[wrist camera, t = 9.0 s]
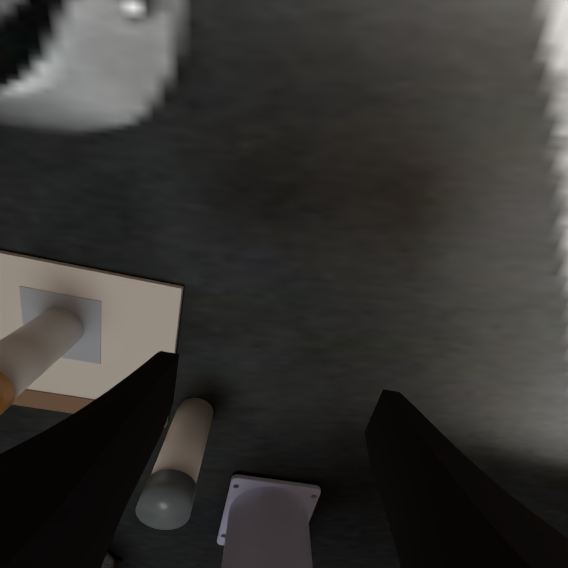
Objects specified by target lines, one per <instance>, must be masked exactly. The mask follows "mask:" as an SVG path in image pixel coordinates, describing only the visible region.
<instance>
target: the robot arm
mask: <svg viewBox="0 0 568 568" xmlns="http://www.w3.org/2000/svg"><path fill="white" fill-rule="evenodd" d="M178 358H179V354H176V353H170V352H164V351H159V352H158V353H156V354H155V355H154V356H153V357H151V358H150V359H149V360H148V361H146V362H145V363H144V364H143V365H141V366H140V367H139V368H138V369H136V370H135V371H134V372H133V373H131V374H130V375H129V376H127V377H126V378H125V379H123V380H122V381H121V382H119V383H118V384H117V385H115V386H114V387H112V388H111V389H110V390H108V391H107V392H105V393H104V394H103V395H101V396H100V397H98V398H97V399H95V400H94V401H92V402H91V403H89V404H88V405H86V406H85V407H83V408H82V409H80V410H79V411H77V412H75V413H74V414H72V415H71V416H69V417H67V418H66V419H64V420H62V421H61V422H59V423H57V424H56V425H54V426H52V427H50V428H49V429H47V430H45V431H43V432H42V433H40V434H38V435H36V436H34V437H32V438H31V439H29V440H27V441H25V442H23V443H21V444H19V445H17V446H15V447H13V448H11V449H9V450H7V451H5V452H3V453H1V454H0V568H101V567H102V564H103V561H104V559H105V556H106V554H107V551H108V549H109V546H110V544H111V541H112V539H113V536H114V534H115V531H116V529H117V526H118V523H119V521H120V519H121V516H122V514H123V512H124V510H125V507H126V505H127V503H128V501H129V499H130V497H131V495H132V493H133V491H134V489H135V487H136V485H137V483H138V481H139V479H140V477H141V474H142V472H143V470H144V468H145V466H146V464H147V462H148V460H149V458H150V456H151V454H152V452H153V450H154V448H155V446H156V444H157V442H158V440H159V438H160V436H161V433H162V431H163V429H164V426H165V423H166V421H167V418H168V415H169V412H170V409H171V407H172V404H173V399H174V391H175V383H176V375H177V366H178ZM365 436H366V442H367V448H368V453H369V459H370V463H371V466H372V470H373V473H374V477H375V480H376V483H377V486H378V490H379V493H380V496H381V499H382V502H383V506H384V509H385V512H386V515H387V518H388V522H389V525H390V528H391V531H392V534H393V538H394V541H395V545H396V549H397V552H398V557H399V561H400V566H401V568H568V538H566V537H565V536H564V535H562V534H561V533H560V532H558V531H557V530H556V529H554V528H553V527H551V526H550V525H549V524H547V523H546V522H545V521H543V520H542V519H541V518H539V517H538V516H536V515H535V514H534V513H533V512H531V511H530V510H529V509H527V508H526V507H525V506H523V505H522V504H521V503H520V502H518V501H517V500H516V499H515V498H513V497H512V496H511V495H510V494H509V493H507V492H506V491H505V490H504V489H502V488H501V487H500V486H499V485H498V484H496V483H495V482H494V481H493V480H492V479H490V478H489V477H488V476H487V475H486V474H485V473H484V472H482V471H481V470H480V469H479V468H478V467H477V466H476V465H475V464H474V463H472V462H471V461H470V460H469V459H468V458H467V457H466V456H465V455H464V454H463V453H462V452H460V451H459V450H458V449H457V448H456V447H455V446H454V445H453V444H452V443H451V442H450V441H449V440H448V439H447V438H446V437H445V436H444V435H443V434H442V433H441V432H440V431H439V430H438V429H437V428H436V427H435V426H434V425H433V424H432V423H431V422H430V421H429V420H428V419H427V418H426V417H425V416H424V415H423V414H422V413H421V412H420V411H419V410H418V409H417V408H416V407H415V406H414V405H413V404H411V403H410V402H409V401H408V400H407V399H406V398H405V397H404V396H403V395H402V394H401V393H399V392H395V391H389V390H383V391H382V393H381V396H380V398H379V400H378V403H377V405H376V407H375V410H374V412H373V414H372V416H371V419H370V421H369V423H368V426H367V428H366V430H365ZM320 493H321V489H320V487H319V486H318V485H312V484H305V483H297V482H290V481H283V480H275V479H268V478H261V477H253V476H246V475H239V474H236V475H234V476H232V479H231V483H230V487H229V491H228V495H227V500H226V504H225V508H224V512H223V516H222V521H221V525H220V529H219V533H218V537H217V543H218V544H219V545H224V552H223V559H222V566H221V568H313V567H312V555H311V544H310V533H309V521H310V518H311V516H312V513H313V511H314V508H315V506H316V503H317V501H318V498H319V496H320Z"/></svg>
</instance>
